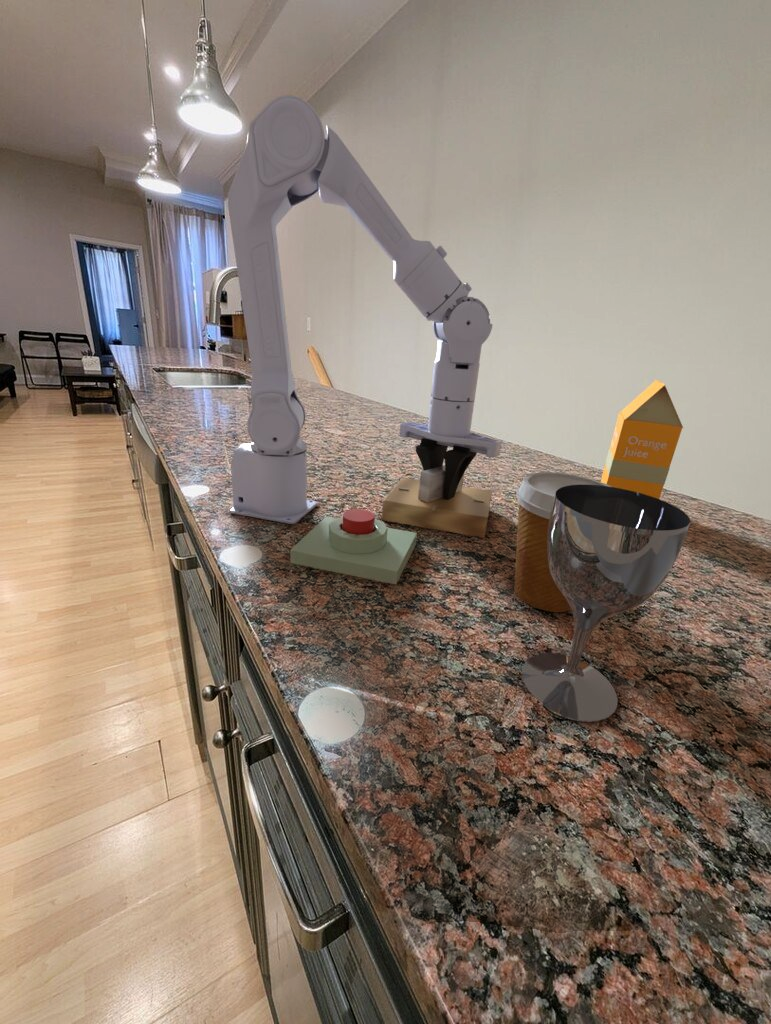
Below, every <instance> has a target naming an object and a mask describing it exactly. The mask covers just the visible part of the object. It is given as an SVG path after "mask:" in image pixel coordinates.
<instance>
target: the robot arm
mask: <svg viewBox="0 0 771 1024" xmlns="http://www.w3.org/2000/svg"><path fill="white" fill-rule="evenodd" d="M325 127H326V137H325V129H324V126H323V123H322V120H321V118H320V116H319V114H318V113H317V110H316V109H314V107H313V106H312V105H311V104H310V103H308V102H307V101H306V100H305V99H303V98H301V97H299V96H296V95H293V94H292V95H291V94H285V95H281V96H276V97H275V98H273V99H272V100H270V101H269V102H268V103H267V105H266V106H265V107H264V108H262V110H261V111H260V112H259V113H258V114H257V115H256V116H255V117H254V118H253V119H252V120H251V121H250V122H249V125H248V131H247V137H246V138H247V139H246V143H245V148H244V151H243V153H242V156H241V159H240V161H239V164H238V166H237V170H236V172H235V175H234V177H233V181H232V183H231V186H230V189H229V191H228V196H227V208H228V215H229V224H230V230H231V236H232V244H233V250H234V257H235V258H234V259H235V264H236V271H237V277H238V278H237V279H238V284H239V293H240V298H241V307H242V313H243V318H244V325H245V333H246V339H247V347H248V353H249V360H250V367H251V382H250V383H251V384H250V393H249V394H250V395H249V396H250V402H251V408H250V412H249V415H248V417H247V421H246V429H247V433H248V437H249V438H250V441H251V442H250V443H242V444H240V445H239V446H238V447H237V448H236V449H235V450H234V451H233V452H234V453H233V455H232V458H231V464H230V475H231V487H232V488H231V489H232V504H233V507H232V508H230V514H234V515H239V516H244V517H245V516H246V517H249V518H256V519H260V520H266V521H272V522H276V523H283V524H288V525H295V524H296V523H297V522H299V521H300V520H301V519H302V518H304V517H305V516H306V515H307V514H308V513H309V512H311V511H312V510H313V509H314V508H316V507H317V506H318V501H317V500H312V499H308V493H307V492H308V491H307V490H308V487H307V486H308V484H307V483H308V482H307V481H308V470H307V469H308V468H307V467H308V465H307V464H308V461H307V460H308V457H307V456H308V454H307V453H308V450H307V449H308V445H307V443H306V442H305V441H304V440H303V439H302V437H301V431H302V429H303V428H304V425H305V422H306V409H305V406H304V404H303V403H302V402H301V400H300V398H299V396H298V394H297V390H296V389H297V387H296V381H295V378H294V374H293V370H292V362H291V361H292V360H291V353H290V344H289V343H290V342H289V334H288V325H287V316H286V307H285V299H284V291H283V290H284V289H283V281H282V272H281V264H280V253H279V246H278V245H279V244H278V237H277V226H278V225H279V223H280V222H281V221H282V220H283V219H284V217H286V215H287V214H288V213H289V212H290V210H292V209H293V207H294V206H296V205H298V204H300V203H302V202H305V201H307V200H308V199H310V198H313V197H314V196H315V195H317V194H318V193H319V199H320V200H319V201H320V202H321V203H324V204H329V205H336V206H340V207H343V208H345V210H347V211H348V212H349V214H350V215H351V216H352V217H353V218H354V220H355V221H356V222H357V223H358V225H360V226H361V227H362V228H363V230H364V231H365V232H366V233H367V234H368V235H369V236H370V237H371V238H372V240H373V241H374V242H375V243H376V244H377V245H378V246H379V247H380V249H381V250H382V251H383V252H384V253H385V255H387V257H388V258H389V259H390V260H391V261H392V264H393V271H392V272H393V276H392V278H393V281H394V283H395V284H396V285H397V286H398V287H399V288H400V290H401V291H402V292H403V293H404V294H405V296H406V297H407V298H408V299H409V300H410V302H412V304H413V305H414V306H415V308H416V309H417V310H418V311H419V313H420V314H421V315H422V316H423V317H424V318H425V319H426V321H428V322H432V329H433V334H434V336H435V338H436V339H438V340H437V344H436V353H435V360H434V363H433V373H432V384H431V394H430V401H429V413H428V422H427V424H425V423H417V422H411V421H406V422H401V423H400V424H399V437H400V438H403V439H407V438H410V439H413V440H418V441H420V443H419V444H418V445H416V446H415V453H416V455H417V456H418V458H419V461H420V465H421V466H422V471H425V470H429V469H432V468H436V467H440V466H444V465H445V484H444V491H443V499H445V500H449V499H451V498H453V497H454V496H455V493H456V490H457V487H458V485H459V482H460V480H461V478H462V476H463V474H464V475H465V472H466V471H467V469H468V468H469V466H470V464H471V463H472V461H474V458H476V456H477V454H481V455H485V456H486V457H487V458H492V459H494V458H496V457H498V456H500V455H501V448H502V443H503V442H502V440H499V439H495V438H491V437H488V436H485V435H481V434H479V433H476V432H472V431H471V430H472V429H471V428H472V422H473V415H474V409H475V408H474V407H475V399H476V393H477V386H478V378H479V372H480V365H481V364H480V360H481V354H482V346H483V344H484V343H485V342H486V341H487V340H488V338H489V337H490V335H491V333H492V330H493V325H494V324H493V323H491V319H490V317H489V316H490V311H489V309H488V308H487V307H488V306H486V304H485V303H484V302H483V301H481V299H479V298H475V297H474V296H469V294H470V292H471V291H472V290H473V288H472V286H471V285H470V284H469V283H468V282H463V281H462V280H461V279H460V278H459V277H458V275H457V274H456V273H455V271H454V270H453V269H452V267H451V266H450V265H449V263H448V262H447V261H446V260H445V258H446V257H447V255H448V252H447V251H446V250H445V249H444V248H443V246H442V245H439V246H437V247H435V246H434V244H433V243H432V242H431V240H418V239H415V238H413V237H412V235H411V234H410V232H409V231H408V230H407V228H406V227H405V225H404V224H403V223H402V222H401V220H400V219H399V217H398V216H397V214H396V213H395V212H394V210H393V209H392V207H391V206H390V205H389V203H388V202H387V200H386V199H385V198H384V196H383V195H382V194H381V193H380V191H379V190H378V188H377V187H376V185H375V184H374V183H373V181H372V180H371V178H370V177H369V176H368V174H367V173H366V172H365V170H364V168H363V167H362V166H361V165H360V163H359V162H358V161H357V159H356V158H355V157H354V155H353V154H352V152H351V151H350V150H349V148H348V147H347V146H346V144H345V143H344V141H343V140H342V139H341V137H340V136H339V135H338V133H336V131H335V130H333V129H332V128H331V127H330V126H329V125H328V124H326V125H325ZM449 447H450V448H452V449H449V450H448V448H449Z"/></svg>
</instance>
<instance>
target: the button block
mask: <svg viewBox="0 0 771 1024" xmlns="http://www.w3.org/2000/svg"><path fill="white" fill-rule="evenodd" d="M342 522H343V516H340V517H337V518H335V517H330V516H325V517H324V518H323V519H322V520H321V521H320V522H318V524H316V525H315V526H313V528H312V529H311V530H310V531H309V532H308V533H307V534H306V535H304V536H303V538H301V539H300V540H299V541H298V542H297V543H296V544H295V545H294V546H292V548H291V549H290V550H289V553H290V555H289V556H290V557H289V559H290V560H289V561H290V564H294V565H298V566H303V567H308V568H312V569H313V568H314V569H318V570H322V571H328V572H333V573H338V574H343V575H348V576H352V577H356V578H357V577H358V578H362V579H367V580H372V581H377V582H382V583H387V584H391V585H397V584H398V583H399V580H400V578H401V576H402V574H403V572H404V570H405V568H406V567H407V564H408V562H409V560H410V557H411V555H412V553H413V551H414V549H415V547H416V546H417V538H418V532H415V531H410V530H404V529H403V530H402V529H398V528H392V527H387V525H386V524H385V522H384V521H383V520H380V519H378V518H376V517H375V521H374V531H373V532H372V533H369V534H365V535H355V534H350V533H346V532H344V531H343V530H342Z"/></svg>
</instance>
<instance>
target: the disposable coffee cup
mask: <svg viewBox="0 0 771 1024" xmlns="http://www.w3.org/2000/svg"><path fill="white" fill-rule="evenodd" d="M570 485H600V486H608V487H611V486H609V485H607V484H605V483H602V482H601V480H600V481H599V480H596V479H594V478H590V477H585V476H581V475H576V474H569V473H564V472H563V473H562V472H549V471H547V472H546V471H544V472H534V473H530V474H527V475H525V476H524V478H523V480H522V482H521V484H520V485H519V486H518V487H517V488H516V490H515V494H516V497H517V502H518V516H517V517H518V518H517V520H518V521H517V534H516V535H517V536H516V550H515V552H516V553H515V568H514V569H515V570H514V582H513V583H514V585H513V590H514V594H515V595H516V596H517V597H518V598H519V600H521V601H522V602H524V603H526V604H527V605H529V606H530V607H533V608H535V609H538V610H541V611H546V612H551V613H564V612H569V611H572V610H571V608H570V606H569V604H568V602H567V601H566V599H565V598H564V596H563V595H562V593H561V592H560V590H559V589H558V587H557V586H556V584H555V583H554V581H553V578H552V576H551V574H550V571H549V567H548V561H547V538H548V525H549V519H550V514H551V508H552V504H553V500H554V496H555V493H556V491H557V490H558V489H560V488H561V487H565V486H570Z"/></svg>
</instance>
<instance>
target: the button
mask: <svg viewBox="0 0 771 1024" xmlns="http://www.w3.org/2000/svg"><path fill="white" fill-rule="evenodd" d="M342 517H343V522H342V530H343V531H344V532H346V533H350V534H355V535H365V534H369V533H372V532H373V531H374V521H375V518H376V516H375V514H374V513H373V512H372V511H369V510H367V509H360V508H353V509H348V510H345V511H344V512H343V513H342Z"/></svg>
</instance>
